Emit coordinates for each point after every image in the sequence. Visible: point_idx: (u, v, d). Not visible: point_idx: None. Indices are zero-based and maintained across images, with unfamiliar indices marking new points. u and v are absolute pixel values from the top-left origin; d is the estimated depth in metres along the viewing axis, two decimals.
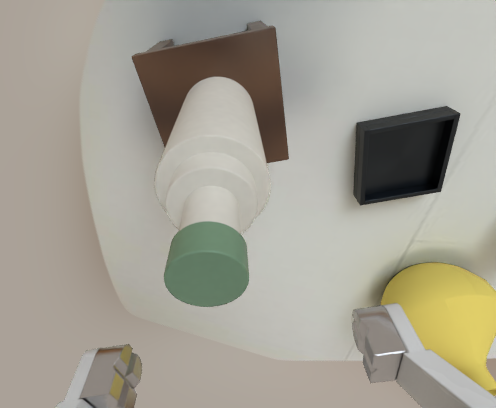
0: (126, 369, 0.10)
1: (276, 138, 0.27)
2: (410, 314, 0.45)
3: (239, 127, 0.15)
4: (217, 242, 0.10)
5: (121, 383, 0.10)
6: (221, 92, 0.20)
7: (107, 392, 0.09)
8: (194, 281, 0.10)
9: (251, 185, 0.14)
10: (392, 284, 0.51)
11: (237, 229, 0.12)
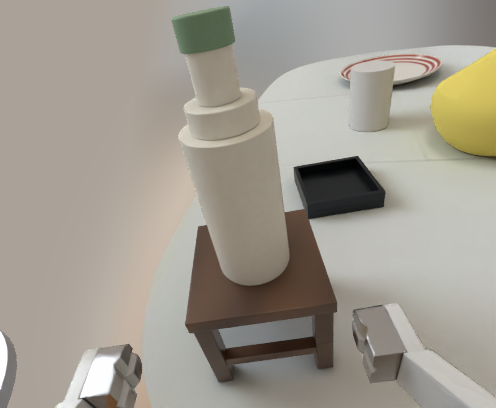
0: (126, 369, 0.10)
1: None
2: None
3: None
4: None
5: (121, 383, 0.10)
6: None
7: (107, 392, 0.09)
8: (197, 12, 0.15)
9: None
10: (487, 146, 0.45)
11: None
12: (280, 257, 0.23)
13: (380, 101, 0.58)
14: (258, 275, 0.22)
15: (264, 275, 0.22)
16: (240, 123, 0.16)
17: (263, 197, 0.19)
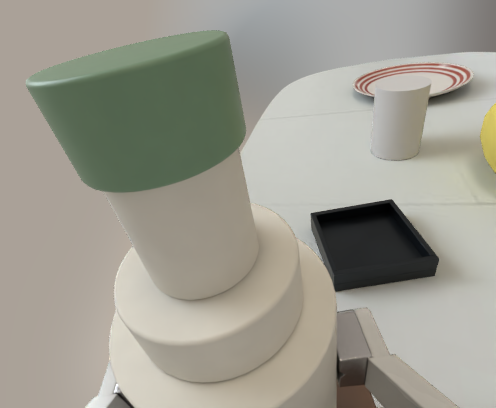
0: None
1: None
2: None
3: None
4: None
5: None
6: None
7: None
8: (115, 57, 0.04)
9: None
10: None
11: None
12: None
13: (412, 125, 0.48)
14: None
15: None
16: (261, 347, 0.06)
17: None
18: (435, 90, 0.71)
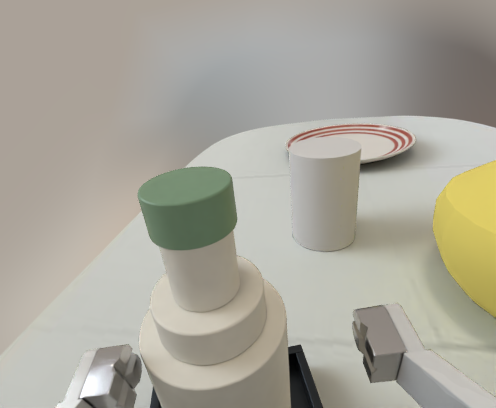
0: (126, 370, 0.10)
1: None
2: None
3: None
4: None
5: (121, 383, 0.10)
6: None
7: (107, 392, 0.09)
8: (181, 188, 0.09)
9: None
10: None
11: None
12: None
13: (340, 205, 0.33)
14: None
15: None
16: (242, 339, 0.10)
17: None
18: (375, 154, 0.61)
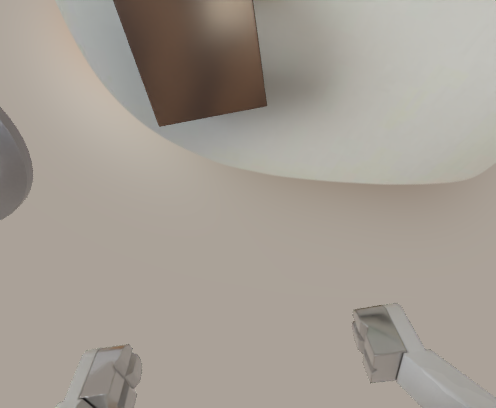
0: (126, 369, 0.10)
1: None
2: None
3: None
4: None
5: (121, 383, 0.10)
6: None
7: (107, 392, 0.09)
8: None
9: None
10: None
11: None
12: None
13: None
14: None
15: None
16: None
17: None
18: None
